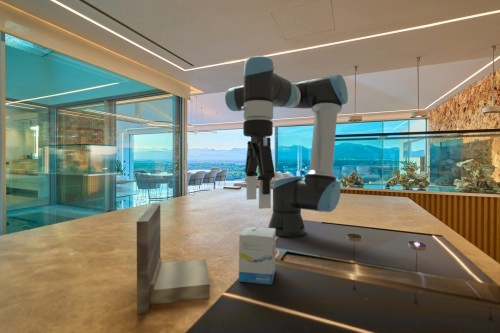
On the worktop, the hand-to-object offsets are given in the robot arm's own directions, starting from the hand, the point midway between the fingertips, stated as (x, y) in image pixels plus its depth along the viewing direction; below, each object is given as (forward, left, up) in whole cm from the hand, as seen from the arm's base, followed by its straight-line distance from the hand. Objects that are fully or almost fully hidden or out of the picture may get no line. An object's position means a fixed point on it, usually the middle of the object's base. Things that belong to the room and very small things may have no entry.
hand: (257, 203), depth 65 cm
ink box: (0, 0, -19) cm, 19 cm away
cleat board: (+20, +1, -19) cm, 27 cm away
